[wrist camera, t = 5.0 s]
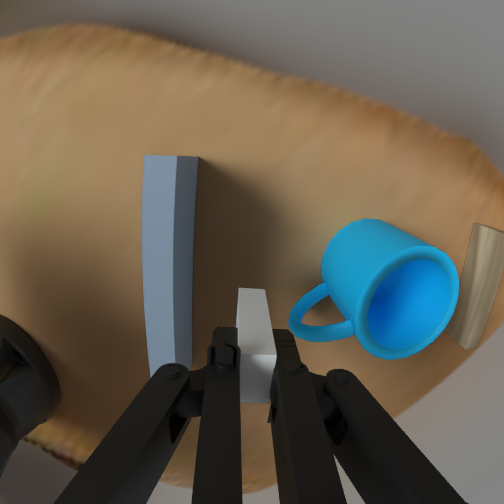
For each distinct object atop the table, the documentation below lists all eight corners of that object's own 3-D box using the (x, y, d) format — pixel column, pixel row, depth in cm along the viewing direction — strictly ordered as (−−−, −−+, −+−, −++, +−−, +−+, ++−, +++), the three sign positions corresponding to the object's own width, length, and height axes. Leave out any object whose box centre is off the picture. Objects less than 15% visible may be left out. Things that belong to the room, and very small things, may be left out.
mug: (392, 203, 24) (450, 224, 16) (413, 284, 27) (462, 325, 19) (262, 261, 25) (275, 308, 17) (297, 339, 27) (318, 400, 20)
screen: (154, 358, 27) (131, 427, 19) (151, 155, 22) (106, 155, 13) (192, 362, 27) (180, 434, 19) (198, 156, 22) (177, 156, 14)
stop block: (444, 330, 29) (464, 349, 25) (473, 222, 25) (499, 232, 21) (456, 329, 29) (476, 347, 25) (485, 224, 25) (511, 234, 21)
